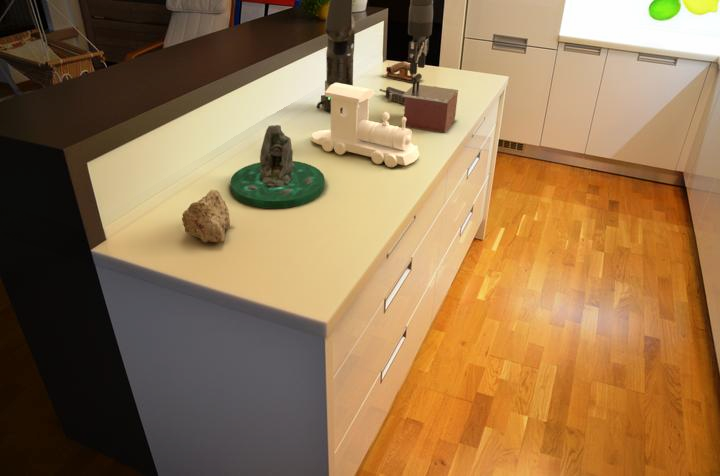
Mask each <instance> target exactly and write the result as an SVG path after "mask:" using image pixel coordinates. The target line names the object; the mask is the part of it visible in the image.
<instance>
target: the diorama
mask: <svg viewBox="0 0 720 476" xmlns="http://www.w3.org/2000/svg"><path fill="white" fill-rule="evenodd" d="M261 144H262V145H261V148H260V156H259V162H255V163H251V164H249V165H245V166H244V167H242V168H239V169H238V170H237V171H235V172H234V173H233V175H232V176H231V177H230V181H229V184H230V191H231V194H232V196H233V197H234V198H235V199H236V200H238V201H239V202H240V203H242V204H245V205H248V206H252V207H257V208H262V209H287V208H295V207H298V206H302V205H305V204H307V203H310V202H312V201H314V200H316V199H317V198H318V197H319V196H321V195H322V194H323V192H324V191H325V187H326V185H325V182H326V181H325V176H324V174H323V172H322V171H321V170H320V169H318V168H317V167H316V166H313V165H311V164H309V163H306V162H301V161H296V160H294V159H293V156H294V154H293V153H294V150H293V147H292V139H291V137H289V136H287V135H286V134H285V133H284V132H283V131H282V126H281V125H279V124H275V125H269V126H268V127H267V128H266V130H265V133H264V137H263V141H262V143H261Z"/></svg>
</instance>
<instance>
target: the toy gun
mask: <svg viewBox="0 0 720 476" xmlns="http://www.w3.org/2000/svg"><path fill="white" fill-rule="evenodd" d="M379 91H380V92H382V93H385V97H386V98H388V102H391V101H394V102H397V103H399V104H400V103H401V104H403V105H405V97H403V94H404V93H405V92H406V91H404V90H401V89H399V88H394V87H391V86H387V87H386V89H383V88H379Z"/></svg>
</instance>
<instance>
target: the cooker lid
mask: <svg viewBox="0 0 720 476" xmlns="http://www.w3.org/2000/svg"><path fill="white" fill-rule="evenodd" d="M422 77H423V75H422V74H421V73H418V72H417V74H416V75H415V76H414V77H413V78H412V79H411V82H410V83H412V86H411V87H410V88H409V89H407V90H406V91H404V92H405V93H404V94H403V97H409V98H416V99H423V100H430V101H436V102H443V103H448V102H449V101H450V100H451V99H452V98H453V97H454V96H455V95H456V94H457V93H458V94H459V89H454V88H448V87H439V86H432V85H426V84H420V81H419V80H422ZM416 82H417V83H416Z"/></svg>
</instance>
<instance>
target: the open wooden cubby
mask: <svg viewBox="0 0 720 476" xmlns="http://www.w3.org/2000/svg"><path fill="white" fill-rule="evenodd" d="M458 95H459V92H458V93H457V94H456V95H455V96H454V97H453V98H452V99H451V100H450V101H449V102H448V103H443V102H436V101H430V100H423V99H416V98H409V97H405V104H404V111H403V113H404V114H403V117H406V119H407V120H406V123H405V127H406V128H407V127H408V128H413V129H420V130H425V131H431V132H437V133H443V134H445V133H446V132H447V131H448V130H449V128H450V127H451V126H452V125H453V124H454V122H455V121H456V113H457V105H458Z"/></svg>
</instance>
